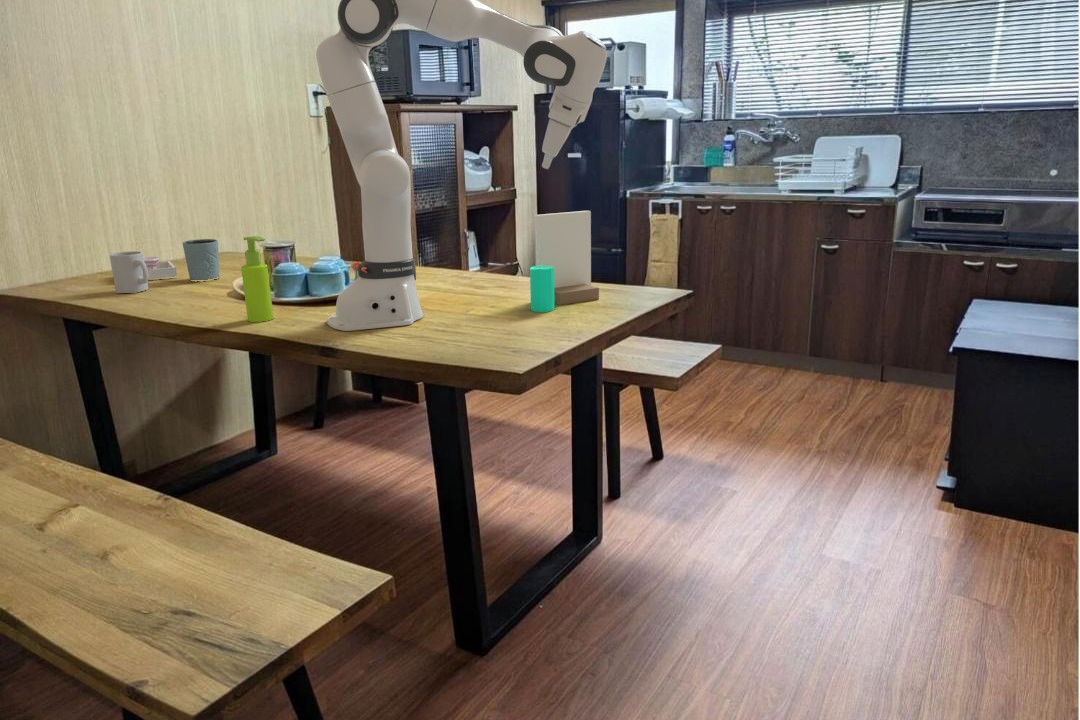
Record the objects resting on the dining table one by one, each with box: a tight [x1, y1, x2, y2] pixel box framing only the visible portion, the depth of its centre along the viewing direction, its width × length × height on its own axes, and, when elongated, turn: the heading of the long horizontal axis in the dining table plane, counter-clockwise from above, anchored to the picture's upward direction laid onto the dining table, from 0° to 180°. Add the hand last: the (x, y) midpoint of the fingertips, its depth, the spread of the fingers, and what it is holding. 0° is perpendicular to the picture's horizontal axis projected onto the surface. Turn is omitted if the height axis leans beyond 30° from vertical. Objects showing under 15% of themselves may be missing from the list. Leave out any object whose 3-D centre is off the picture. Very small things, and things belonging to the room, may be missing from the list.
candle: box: [529, 265, 555, 313], centre depth 192 cm, size 6×6×12 cm
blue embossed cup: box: [182, 238, 221, 281], centre depth 241 cm, size 10×10×12 cm
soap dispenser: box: [240, 235, 274, 323], centre depth 186 cm, size 6×7×20 cm
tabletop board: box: [534, 210, 600, 306], centre depth 201 cm, size 16×8×22 cm, turn 121°
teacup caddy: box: [148, 260, 178, 279], centre depth 248 cm, size 16×16×4 cm
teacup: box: [143, 255, 161, 270], centre depth 248 cm, size 12×12×6 cm
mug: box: [109, 251, 149, 294], centre depth 225 cm, size 12×8×11 cm
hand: (548, 161), depth 188 cm, fingers open, 8 cm apart
